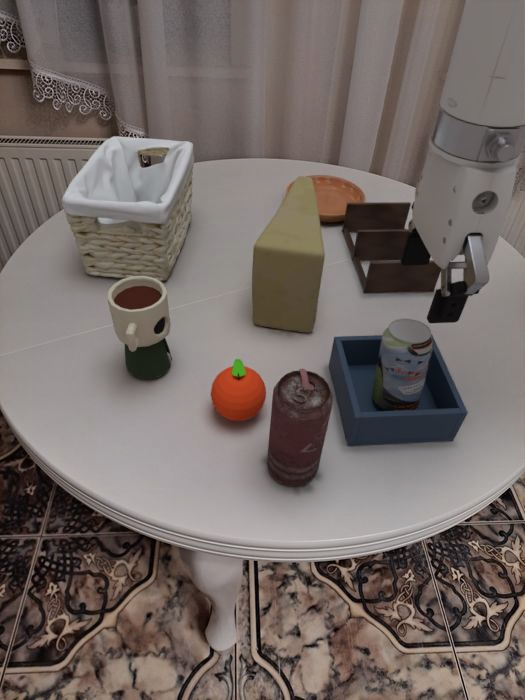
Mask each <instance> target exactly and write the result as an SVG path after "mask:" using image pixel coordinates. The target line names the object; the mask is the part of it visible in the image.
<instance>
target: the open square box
mask: <svg viewBox="0 0 525 700" xmlns="http://www.w3.org/2000/svg"><path fill="white" fill-rule="evenodd" d="M382 335H383V334H379V335H377V334H375V335H343V336H342V335H341V336H333V342H332V346H331V352H330V357H329V362H328V368H329V373H330V378H331V382H332V386H333V391H334V394H335V400H336V403H337V407H338V411H339V415H340V416H339V417H340V420H341V424H342V428H343V432H344V438H345V441H346V445H347V447H355V446H356V447H357V446H374V445H376V446H377V445H397V444H398V445H399V444H419V443H421V444H422V443H441V442H442V443H443V442H454V441H455V439H456V437H457V434H458V433H459V431H460V429H461V428H462V425H463V423H464V422H465V419H466V418H467V416H468V414H469V411H468V410H467V408H466V405H465V403H464V401H463V398H462V397H461V394H460V392H459V390H458V388H457V386H456V383H455V381H454V379H453V376H452V375H451V373H450V371H449V368H448V366H447V364H446V361H445V359H444V357H443V355H442V353H441V351H440V349H439V346H438V344H437V342H436V339H435V338H434V335H433V333H431V336H432V338H433V341H434V346H433V350H432V354H431V358H430V362H429V366H428V370H427V374H426V378H425V382H424V386H423V390H422V394H421V398H420V402H419V405H418V407H417V408H416V409H415V410H401V411H386V410H384V409H382V408H381V407H379V406H378V405H377V404H376V403H375V401H374V400H373V397H372V392H373V386H374V381H375V375H376V369H377V363H378V358H379V352H380V346H381V340H382Z"/></svg>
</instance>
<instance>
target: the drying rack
mask: <svg viewBox="0 0 525 700" xmlns="http://www.w3.org/2000/svg"><path fill="white" fill-rule="evenodd" d="M411 207H412V203H411V202H409V201H404V202H403V201H402V202H398V201H397V202H396V201H395V202H387V201H386V202H379V201H378V202H365V203H347V206H346V211H345V217H344V220H343V224H342V230H341V232H342V233H343V236H344V239H345V241H346V245H347V247H348V250H349V253H350V256H351V260H352V262H353V265H354V267H355V270H356V273H357V275H358V279H359V282H360V284H361V287H362V290H363V291H362V292H363V294H382V293H383V294H385V293H386V294H387V293H388V294H389V293H392V294H393V293H431V292H432V293H433V292H434V293H435V290H436V287H437V284H438V280H439V277H440V276H441V268H440V267H439V266H438V265H437V264H436V263H435V262H434V261H433V259H430V261H429V263H428V264H427V265H410V266H404V265H402V263H401V257H402V253H403V249H404V245H405V242H406V238H407V234H408V233H412V232H409V230H408V228H407V229H405V227H406V224H407V220H408V216H409V213H410V209H411ZM351 233H356V236H355V242H354V241H353V238H352V236H351ZM362 261H369V264H368V268H367V272H366V273H365V271H364V268H363V265H362Z"/></svg>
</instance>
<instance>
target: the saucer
mask: <svg viewBox="0 0 525 700" xmlns="http://www.w3.org/2000/svg"><path fill="white" fill-rule="evenodd" d="M304 177H311V178H312V180H313V184H314V189H315V193H316V198H317V203H318V210H319V218H320V223H328V224H329V223H339V222H344V217H345V211H346V206H347V203H366V195H365V192H364V191H363V189H362V188H361V187H360V186H358V185H357V184H356V183H354V182H352V181H350V180H348V179H345V178H342V177H339V176H334V175H328V174H312V175H306V176H304ZM294 182H295V180H293V181H292V182H290V183H289V184H288V185H287V187H286V189H285V197H286V196H287V194H288V192H289V190H290V188H291V187H292V185H293V183H294Z"/></svg>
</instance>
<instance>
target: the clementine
mask: <svg viewBox="0 0 525 700" xmlns="http://www.w3.org/2000/svg"><path fill="white" fill-rule="evenodd" d="M262 378H263V377H261V376H260V374H259V373H258V372H257V371H256V370H255V369H252V368H250V367H248V366H245V364H244V363H243V361H242V360H241V358H235V359H234V361H233V364H232V366H229V367H227V368H224V369H223V370H222V371H220V372H219V373H218V374H217V375H216V377H215V378H214V380H213V382H212V384H211V389H210V397H211V399H210V400H211V403H212V405H213V407H214V409H215V410H216V411H217V412H218V414H219V415H220V416H222V417H224V418H225V419H227V420H230V421H233V422H235V421H236V422H241V421H247V420H250V419H252V418H253V417H255V416H256V415H257V414H258V413H259V412H260V411H261V410H262V408H263V407H264V404H265V402H266V397H267V388H266V385H265V382H264V380H263V379H262Z"/></svg>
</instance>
